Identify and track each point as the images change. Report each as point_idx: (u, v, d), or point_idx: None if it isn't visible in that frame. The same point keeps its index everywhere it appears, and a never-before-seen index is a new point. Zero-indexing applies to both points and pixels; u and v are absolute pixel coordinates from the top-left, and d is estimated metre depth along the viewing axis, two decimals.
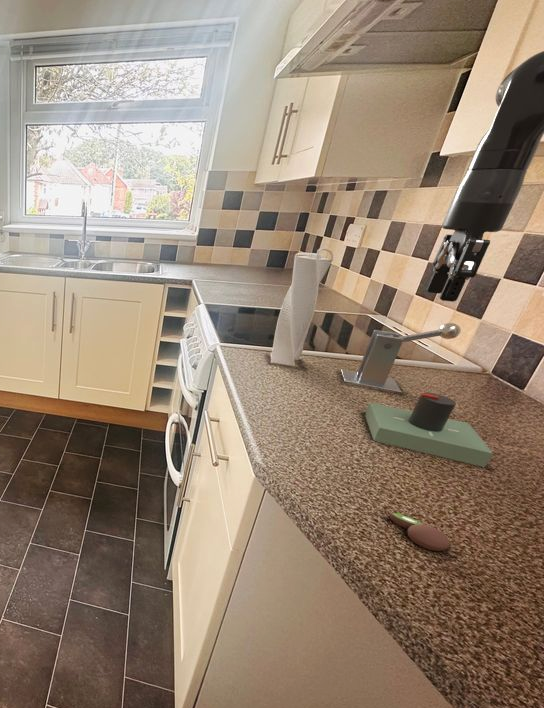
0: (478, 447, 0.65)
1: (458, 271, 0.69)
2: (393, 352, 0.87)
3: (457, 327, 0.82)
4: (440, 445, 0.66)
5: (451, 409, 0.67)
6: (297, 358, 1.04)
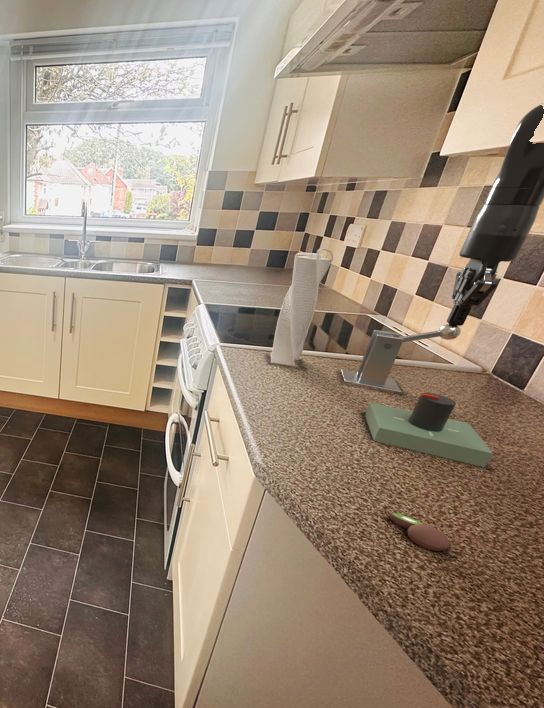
0: (478, 447, 0.65)
1: None
2: (393, 352, 0.87)
3: (457, 328, 0.82)
4: (440, 445, 0.66)
5: (451, 409, 0.67)
6: (297, 358, 1.04)
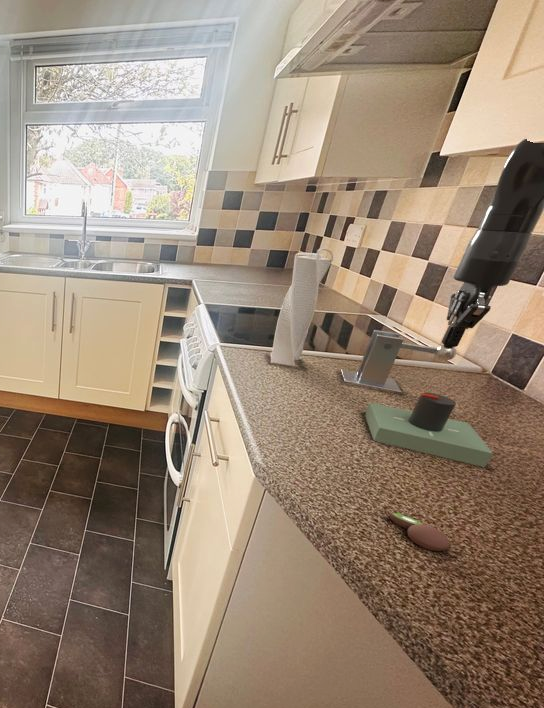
0: (478, 447, 0.65)
1: None
2: (393, 352, 0.87)
3: (455, 351, 0.83)
4: (440, 445, 0.66)
5: (451, 409, 0.67)
6: (297, 358, 1.04)
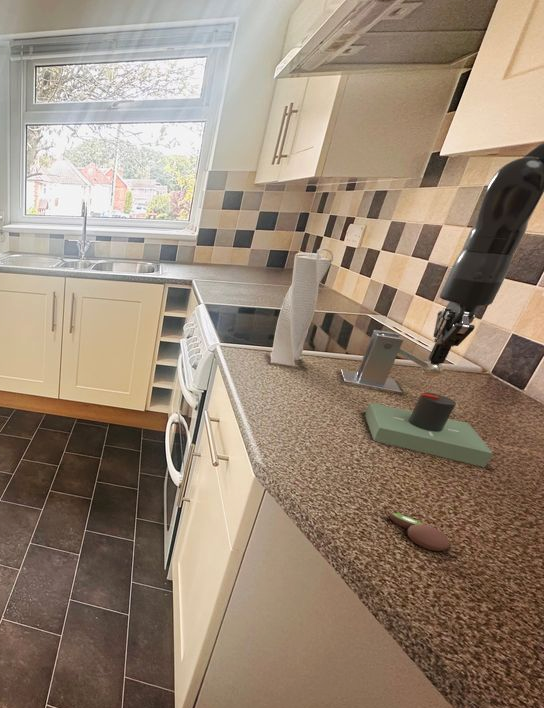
0: (478, 447, 0.65)
1: None
2: (393, 352, 0.87)
3: (441, 370, 0.86)
4: (440, 445, 0.66)
5: (451, 409, 0.67)
6: (297, 358, 1.04)
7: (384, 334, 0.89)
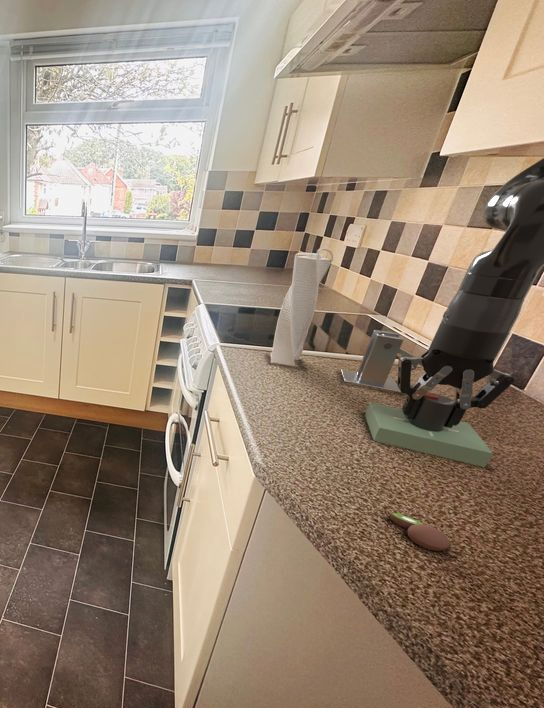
0: (478, 447, 0.65)
1: None
2: (393, 352, 0.87)
3: None
4: (440, 445, 0.66)
5: (451, 409, 0.67)
6: (297, 358, 1.04)
7: (384, 334, 0.89)
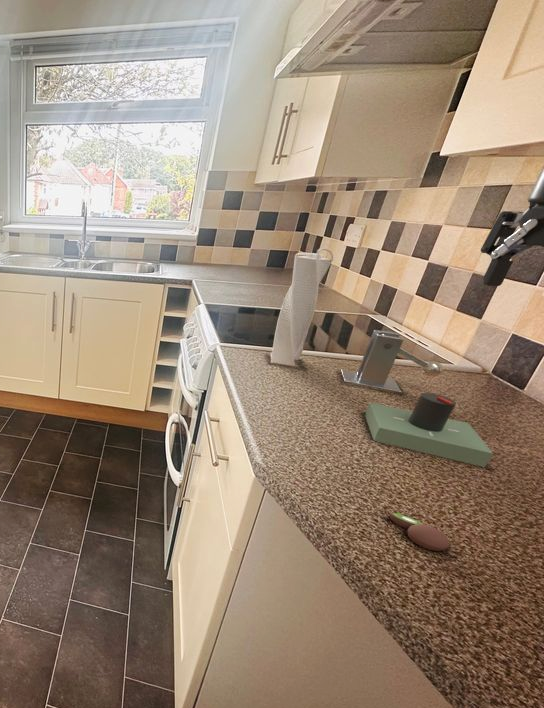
0: (478, 447, 0.65)
1: None
2: (393, 352, 0.87)
3: (441, 370, 0.86)
4: (440, 445, 0.66)
5: None
6: (297, 358, 1.04)
7: (384, 334, 0.89)
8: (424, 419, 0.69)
